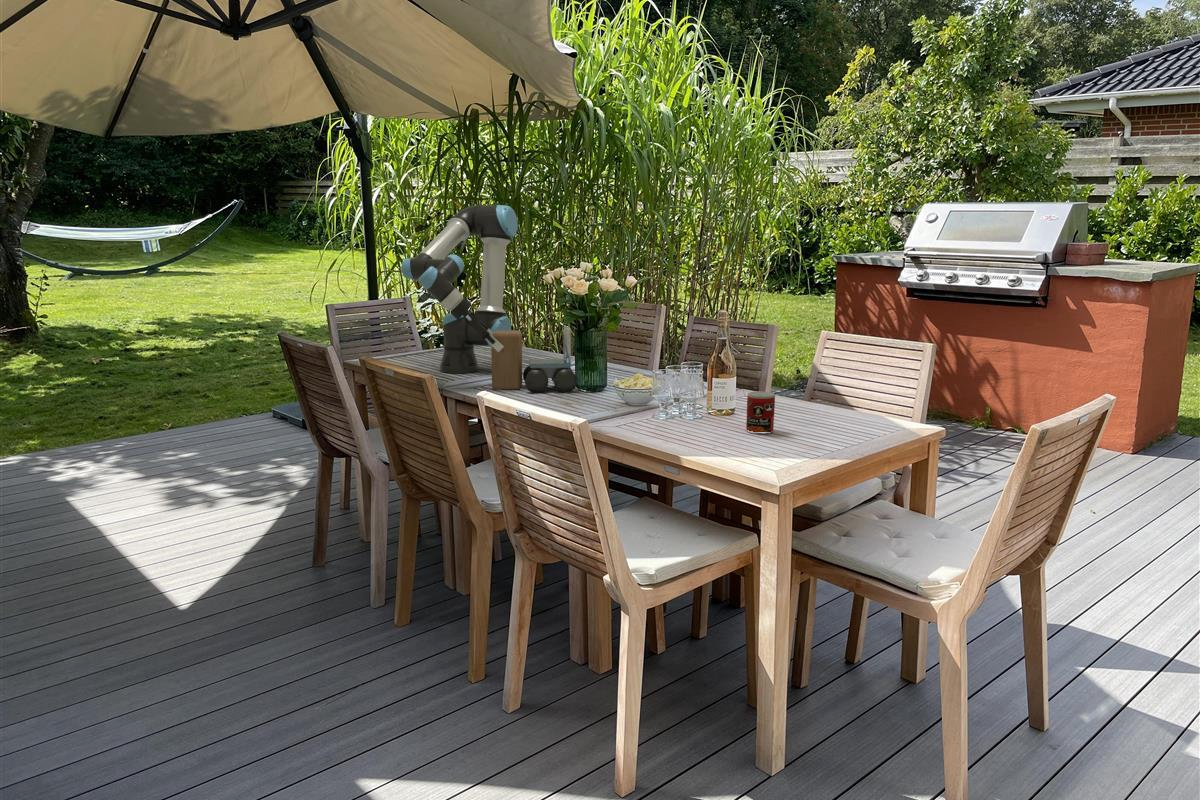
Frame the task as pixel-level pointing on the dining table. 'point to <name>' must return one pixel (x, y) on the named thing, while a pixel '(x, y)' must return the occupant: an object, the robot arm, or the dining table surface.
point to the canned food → (760, 411)
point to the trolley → (552, 370)
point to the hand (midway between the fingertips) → (500, 346)
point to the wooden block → (507, 360)
